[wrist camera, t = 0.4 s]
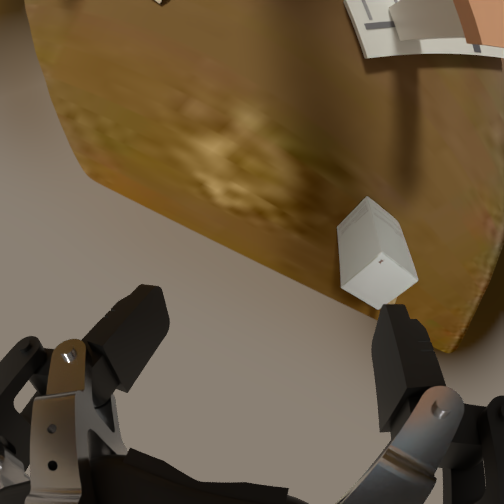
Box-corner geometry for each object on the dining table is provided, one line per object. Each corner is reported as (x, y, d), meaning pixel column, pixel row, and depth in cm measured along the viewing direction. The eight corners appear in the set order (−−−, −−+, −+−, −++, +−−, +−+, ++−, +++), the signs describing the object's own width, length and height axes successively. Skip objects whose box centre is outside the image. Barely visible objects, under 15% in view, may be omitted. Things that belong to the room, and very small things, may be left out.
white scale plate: (343, 1, 20) (345, -2, 18) (486, 5, 12) (494, 5, 10) (364, 58, 24) (367, 58, 23) (501, 57, 16) (509, 59, 15)
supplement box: (335, 226, 41) (337, 287, 32) (367, 194, 36) (383, 250, 27) (368, 250, 42) (377, 312, 33) (400, 222, 38) (420, 281, 28)
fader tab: (383, 3, 17) (451, -38, 4) (410, 2, 16) (494, -27, 3) (398, 45, 20) (482, 44, 7) (425, 44, 19) (520, 51, 6)
